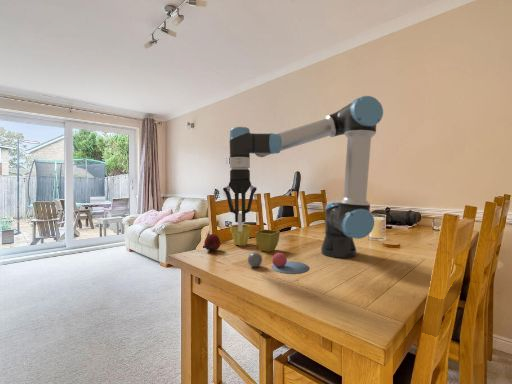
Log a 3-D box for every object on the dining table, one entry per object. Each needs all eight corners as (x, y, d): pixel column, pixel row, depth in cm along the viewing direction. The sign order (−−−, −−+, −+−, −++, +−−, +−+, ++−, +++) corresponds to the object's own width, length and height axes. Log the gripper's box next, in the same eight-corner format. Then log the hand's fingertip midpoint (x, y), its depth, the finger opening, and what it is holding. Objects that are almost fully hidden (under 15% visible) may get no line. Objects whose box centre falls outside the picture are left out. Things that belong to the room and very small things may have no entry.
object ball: (273, 265, 104) (287, 263, 104) (273, 270, 99) (288, 268, 99) (271, 252, 104) (285, 250, 104) (271, 256, 99) (285, 253, 98)
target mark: (306, 261, 108) (306, 261, 108) (311, 274, 94) (311, 273, 94) (271, 261, 109) (271, 260, 109) (271, 273, 95) (271, 272, 95)
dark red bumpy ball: (223, 249, 128) (222, 232, 128) (216, 253, 121) (216, 236, 120) (208, 248, 130) (208, 232, 130) (201, 252, 123) (201, 235, 122)
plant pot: (232, 241, 143) (232, 223, 143) (251, 242, 142) (251, 224, 142) (228, 246, 133) (228, 227, 133) (249, 247, 132) (249, 227, 131)
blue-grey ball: (245, 255, 105) (253, 267, 105) (244, 259, 99) (252, 271, 99) (257, 248, 104) (265, 259, 104) (256, 252, 99) (264, 264, 99)
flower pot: (280, 249, 127) (280, 230, 127) (271, 253, 120) (271, 234, 119) (264, 247, 132) (264, 229, 131) (254, 251, 124) (254, 232, 124)
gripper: (221, 168, 97) (221, 232, 98) (256, 168, 97) (256, 232, 98) (224, 169, 105) (225, 228, 106) (257, 169, 104) (257, 229, 105)
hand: (240, 230), depth 102 cm, fingers closed
